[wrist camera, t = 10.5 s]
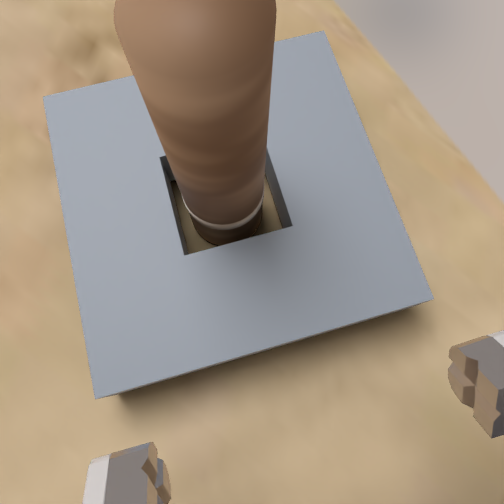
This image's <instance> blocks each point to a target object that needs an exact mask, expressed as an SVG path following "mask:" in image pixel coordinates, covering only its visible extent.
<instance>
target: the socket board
mask: <svg viewBox="0 0 504 504" xmlns="http://www.w3.org/2000/svg"><path fill="white" fill-rule="evenodd" d="M43 101H44V107H45V113H46V118H47V124H48V130H49V136H50V141H51V147H52V153H53V159H54V165H55V170H56V176H57V182H58V188H59V193H60V199H61V205H62V211H63V216H64V222H65V228H66V234H67V240H68V245H69V251H70V257H71V263H72V268H73V274H74V280H75V286H76V291H77V297H78V303H79V309H80V315H81V320H82V326H83V332H84V338H85V343H86V349H87V355H88V361H89V366H90V372H91V378H92V384H93V390H94V395H95V399H99V398H103V397H108V396H113V395H117V394H120V393H124V392H127V391H130V390H134V389H137V388H141V387H144V386H147V385H151V384H154V383H157V382H161V381H164V380H168V379H171V378H174V377H178V376H181V375H184V374H188V373H191V372H195V371H198V370H201V369H205V368H208V367H211V366H215V365H218V364H222V363H225V362H228V361H232V360H235V359H238V358H242V357H245V356H249V355H252V354H255V353H259V352H262V351H265V350H269V349H272V348H275V347H279V346H282V345H286V344H289V343H292V342H296V341H299V340H302V339H306V338H309V337H313V336H316V335H319V334H323V333H326V332H329V331H333V330H336V329H340V328H343V327H346V326H350V325H353V324H356V323H360V322H363V321H367V320H370V319H373V318H377V317H380V316H383V315H387V314H390V313H394V312H397V311H400V310H404V309H407V308H410V307H413V306H416V305H419V304H421V303H424V302H427V301H430V300H432V299H434V297H433V295H432V292H431V290H430V288H429V285H428V283H427V280H426V278H425V275H424V273H423V271H422V268H421V266H420V263H419V261H418V258H417V256H416V254H415V251H414V249H413V246H412V244H411V241H410V239H409V236H408V234H407V232H406V229H405V227H404V224H403V222H402V219H401V217H400V215H399V212H398V210H397V207H396V205H395V202H394V200H393V198H392V195H391V193H390V190H389V188H388V185H387V183H386V181H385V178H384V176H383V173H382V171H381V168H380V166H379V163H378V161H377V159H376V156H375V154H374V151H373V149H372V146H371V144H370V142H369V139H368V137H367V134H366V132H365V129H364V127H363V125H362V122H361V120H360V117H359V115H358V112H357V110H356V107H355V105H354V103H353V100H352V98H351V95H350V93H349V90H348V88H347V86H346V83H345V81H344V78H343V76H342V73H341V71H340V69H339V66H338V64H337V61H336V59H335V56H334V54H333V51H332V49H331V47H330V44H329V42H328V39H327V37H326V34H325V32H324V31H320V32H315V33H311V34H307V35H303V36H298V37H294V38H290V39H286V40H281V41H277V42H274V53H273V67H272V80H271V94H270V107H269V121H268V135H267V148H266V162H265V174H266V177H267V180H268V183H269V187H270V190H271V193H272V196H273V199H274V202H275V205H276V208H277V211H278V214H279V217H280V220H281V223H282V226H283V229H280V230H276V231H273V232H269V233H265V234H262V235H258V236H254V237H251V238H247V239H243V240H240V241H236V242H232V243H229V244H225V245H221V246H218V247H214V248H210V249H207V250H203V251H199V252H196V253H192V254H188V250H187V246H186V242H185V238H184V234H183V230H182V226H181V223H180V219H179V215H178V211H177V207H176V203H175V199H174V195H173V191H172V187H171V183H170V181H173V180H176V179H175V177H174V174H173V172H172V169H171V167H170V164H169V162H168V160H167V157H166V155H165V152H164V150H163V147H162V145H161V142H160V140H159V137H158V135H157V132H156V130H155V127H154V125H153V122H152V120H151V117H150V115H149V112H148V110H147V107H146V105H145V102H144V100H143V97H142V95H141V92H140V90H139V87H138V85H137V82H136V80H135V78H134V75H133V76H129V77H124V78H120V79H116V80H112V81H107V82H103V83H99V84H95V85H91V86H86V87H82V88H78V89H74V90H69V91H65V92H61V93H57V94H52V95H48V96H44V97H43Z"/></svg>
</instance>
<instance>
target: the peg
mask: <svg viewBox="0 0 504 504" xmlns="http://www.w3.org/2000/svg"><path fill="white" fill-rule="evenodd" d="M114 24H115V29H116V32H117V35H118V38H119V40H120V43H121V45H122V48H123V50H124V53H125V55H126V58H127V60H128V63H129V65H130V68H131V70H132V73H133V75H134V78H135V80H136V82H137V85H138V87H139V90H140V92H141V95H142V97H143V100H144V102H145V105H146V107H147V110H148V112H149V115H150V117H151V120H152V122H153V125H154V127H155V130H156V132H157V135H158V137H159V140H160V142H161V145H162V147H163V150H164V152H165V155H166V157H167V160H168V162H169V164H170V167H171V169H172V172H173V174H174V177H175V179H176V182H177V184H178V187H179V189H180V192H181V194H182V198H183V201H184V204H185V206H186V208H187V210H188V212H189V214H190V217H191V219H192V222H193V224H194V226H195V228H196V230H197V232H198V233H199V234H200V235H201V236H202V237H203V238H204V239H206V240H207V241H209V242H211V243H213V244H216V245H225V244H229V243H232V242H236V241H240V240H243V239H247V238H250V237H251V236H252V235H253V234H254V233H255V231H256V230H257V228H258V226H259V224H260V221H261V216H262V203H263V197H264V176H265V162H266V148H267V135H268V121H269V107H270V94H271V80H272V67H273V53H274V39H275V26H276V2H275V0H116V2H115V8H114Z"/></svg>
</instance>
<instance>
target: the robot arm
mask: <svg viewBox="0 0 504 504" xmlns="http://www.w3.org/2000/svg"><path fill="white" fill-rule="evenodd" d="M449 358H450V359H451V360H452V361H453V363H452V364H451V366H450V367H449V368H448V379H449V382H450V385H451V388H452V390H453V391H454V393H455V395H456V396H457V397H458V399H459V400H460V401H461V402H462V403H463V404H465V405H467V406H469V407H472V408H473V417H474V418H475V419H476V421H477V422H478V423H479V424H480V425H481V427H482V428H483V429H484V430H485V431H486V433H487V434H488V435H489V436H490V437H491V438H495V437H498V436H501V435H504V330H502V331H499V332H496V333H492V334H489V335H487V336H482V337H479V338H476V339H473V340H470V341H467V342H464V343H461V344H458V345H455V346H452V347H451V348H450V350H449ZM170 499H171V486H170V480H169V474H168V471H167V468H166V465H165V463H164V461H163V460H162V459H159V458H157V448H156V446H155V445H154V443H153V442H149V443H146V444H142V445H139V446H135V447H132V448H128V449H125V450H121V451H118V452H114V453H111V454H108V455H105V456H101V457H98V458H95V459H92V460H91V462H90V465H89V467H88V472H87V478H86V484H85V490H84V496H83V502H82V504H168V503H169V501H170Z"/></svg>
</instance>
